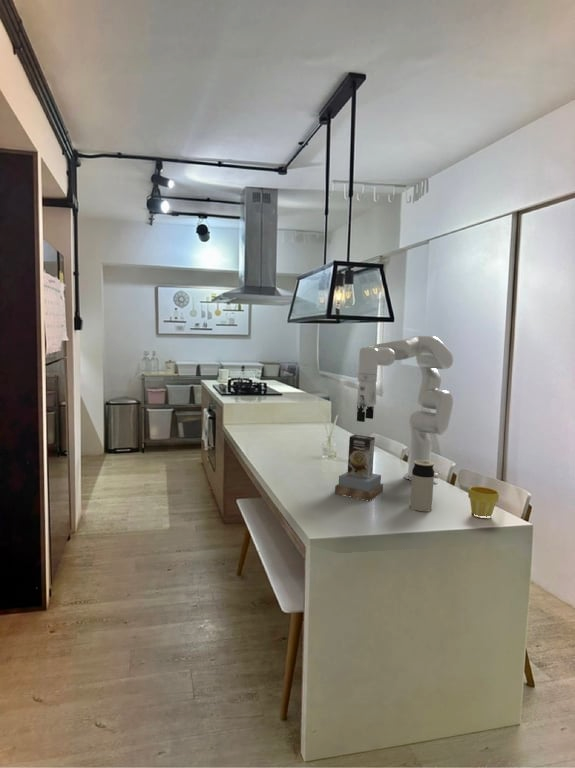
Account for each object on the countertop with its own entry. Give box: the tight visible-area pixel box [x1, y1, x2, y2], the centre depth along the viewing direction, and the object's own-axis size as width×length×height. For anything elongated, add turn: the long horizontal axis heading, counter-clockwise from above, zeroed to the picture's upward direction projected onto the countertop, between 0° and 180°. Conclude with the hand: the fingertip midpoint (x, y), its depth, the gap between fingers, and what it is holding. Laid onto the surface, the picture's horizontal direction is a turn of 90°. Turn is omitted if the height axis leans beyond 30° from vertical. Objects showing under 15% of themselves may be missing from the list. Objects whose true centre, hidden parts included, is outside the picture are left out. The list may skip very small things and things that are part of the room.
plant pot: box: [467, 486, 500, 517], centre depth 183 cm, size 10×10×10 cm
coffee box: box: [347, 434, 376, 479], centre depth 204 cm, size 9×6×16 cm
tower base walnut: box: [334, 483, 384, 502], centre depth 205 cm, size 15×15×4 cm
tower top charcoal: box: [337, 471, 382, 492], centre depth 204 cm, size 13×13×4 cm
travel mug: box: [409, 460, 435, 512], centre depth 188 cm, size 8×8×18 cm
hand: (365, 419), depth 202 cm, fingers open, 9 cm apart
